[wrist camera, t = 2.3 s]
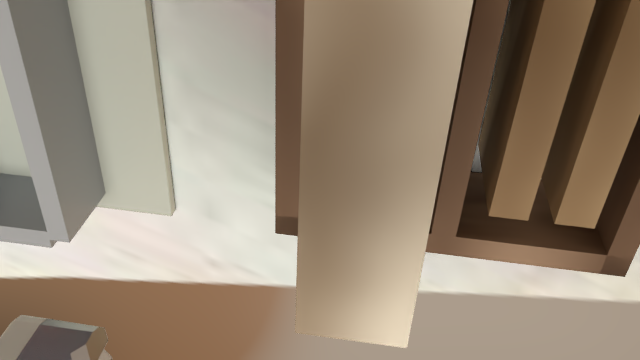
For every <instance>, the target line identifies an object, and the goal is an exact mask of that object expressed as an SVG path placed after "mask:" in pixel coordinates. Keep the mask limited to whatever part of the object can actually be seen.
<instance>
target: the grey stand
mask: <svg viewBox="0 0 640 360" xmlns="http://www.w3.org/2000/svg"><path fill="white" fill-rule="evenodd" d="M95 207H102V208H110V209H118V210H126V211H134V212H142V213H151V214H159V215H167V216H172V215H173V213H174V211H175V201H174V192H173V184H172V175H171V167H170V159H169V150H168V142H167V134H166V125H165V117H164V109H163V100H162V92H161V84H160V75H159V67H158V58H157V50H156V42H155V33H154V25H153V17H152V8H151V0H0V241H4V242H11V243H19V244H26V245H34V246H42V247H49V248H52V247H53V246H54V244H55V243H56V242H57V241H62V242H70V241H71V240H72V239H73V237H74V236H75V234H76V233H77V232H78V230H79V229H80V228H81V226H82V225H83V224H84V222H85V221H86V219H87V218H88V217H89V215H90V214H91V213H92V211H93V210H94V209H95Z"/></svg>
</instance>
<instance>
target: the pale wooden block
mask: <svg viewBox="0 0 640 360" xmlns="http://www.w3.org/2000/svg"><path fill="white" fill-rule="evenodd" d="M472 5H473V0H305V3H304V38H303V73H302V108H301V143H300V178H299V212H298V247H297V282H296V318H295V319H296V320H295V332H296V333H301V334H308V335H316V336H322V337H330V338H338V339H345V340H352V341H359V342H366V343H374V344H381V345H388V346H395V347H403V348H407V345H408V339H409V334H410V328H411V323H412V319H413V313H414V308H415V303H416V297H417V292H418V287H419V282H420V277H421V271H422V266H423V261H424V256H425V251H426V245H427V240H428V235H429V230H430V224H431V219H432V214H433V209H434V203H435V198H436V193H437V188H438V183H439V177H440V172H441V167H442V162H443V156H444V151H445V146H446V141H447V135H448V130H449V125H450V120H451V115H452V109H453V104H454V99H455V94H456V88H457V83H458V78H459V73H460V67H461V62H462V57H463V52H464V47H465V41H466V36H467V31H468V26H469V20H470V15H471V10H472Z"/></svg>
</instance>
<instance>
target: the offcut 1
mask: <svg viewBox="0 0 640 360" xmlns="http://www.w3.org/2000/svg"><path fill="white" fill-rule="evenodd" d="M595 2H596V0H511V4H510V8H509V12H508V17H507V21H506V26H505V30H504V34H503V39H502V43H501V47H500V52H499V56H498V61H497V65H496V69H495V74H494V78H493V83H492V87H491V91H490V96H489V100H488V105H487V109H486V113H485V118H484V122H483V127H482V131H481V135H480V140H479V144H478V145H479V152H480V159H481V166H482V174H483V181H484V188H485V195H486V202H487V209H488V216H492V217H501V218H509V219H518V220H526V221H528V219H529V216H530V212H531V209H532V206H533V203H534V200H535V196H536V193H537V190H538V187H539V183H540V180H541V177H542V174H543V170H544V167H545V164H546V161H547V157H548V154H549V151H550V148H551V145H552V141H553V138H554V135H555V132H556V128H557V125H558V122H559V119H560V115H561V112H562V109H563V106H564V103H565V99H566V96H567V93H568V90H569V86H570V83H571V80H572V77H573V73H574V70H575V67H576V64H577V60H578V57H579V54H580V51H581V48H582V44H583V41H584V38H585V35H586V31H587V28H588V25H589V22H590V18H591V15H592V12H593V9H594V5H595Z"/></svg>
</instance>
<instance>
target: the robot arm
mask: <svg viewBox="0 0 640 360" xmlns="http://www.w3.org/2000/svg"><path fill="white" fill-rule="evenodd" d="M107 342H108V338H107V335H106V331H105V328H102V327H97V326H90V325H84V324H78V323H71V322H65V321H59V320H53V319H46V318H39V317H32V316H25V315H21V316H19V317H18V318H16V319H15V320H13V321H12V322H11V324H10V325H9V326H8V328H7V329H6V331H5V332H4V333H3V335H2V336H1V337H0V360H112V357H111V356H110V355H109V354H108V353H107V352H106V351H105V350H104V347H105V345H106V343H107Z"/></svg>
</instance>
